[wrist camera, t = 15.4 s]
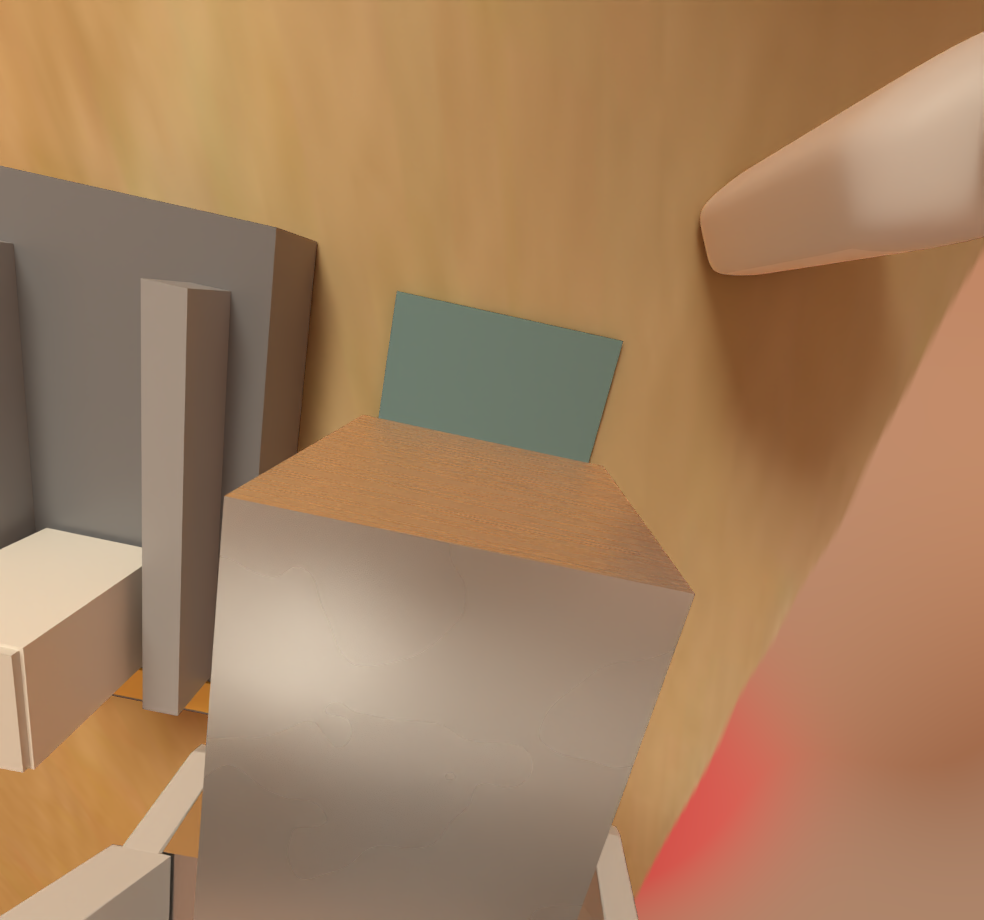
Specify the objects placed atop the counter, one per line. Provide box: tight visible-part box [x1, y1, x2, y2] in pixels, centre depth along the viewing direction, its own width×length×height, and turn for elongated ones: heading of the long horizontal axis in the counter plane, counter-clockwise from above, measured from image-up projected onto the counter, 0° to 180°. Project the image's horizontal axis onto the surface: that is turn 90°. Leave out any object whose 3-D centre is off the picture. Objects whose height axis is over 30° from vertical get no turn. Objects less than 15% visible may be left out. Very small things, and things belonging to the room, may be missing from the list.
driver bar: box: [194, 415, 695, 920], centre depth 8 cm, size 12×4×4 cm, turn 168°
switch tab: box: [0, 528, 142, 772], centre depth 15 cm, size 4×4×5 cm
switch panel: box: [0, 166, 317, 716], centre depth 17 cm, size 18×10×5 cm, turn 168°
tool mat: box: [379, 291, 623, 463], centre depth 19 cm, size 16×8×1 cm, turn 168°
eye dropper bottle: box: [700, 32, 984, 275], centre depth 10 cm, size 4×6×12 cm
